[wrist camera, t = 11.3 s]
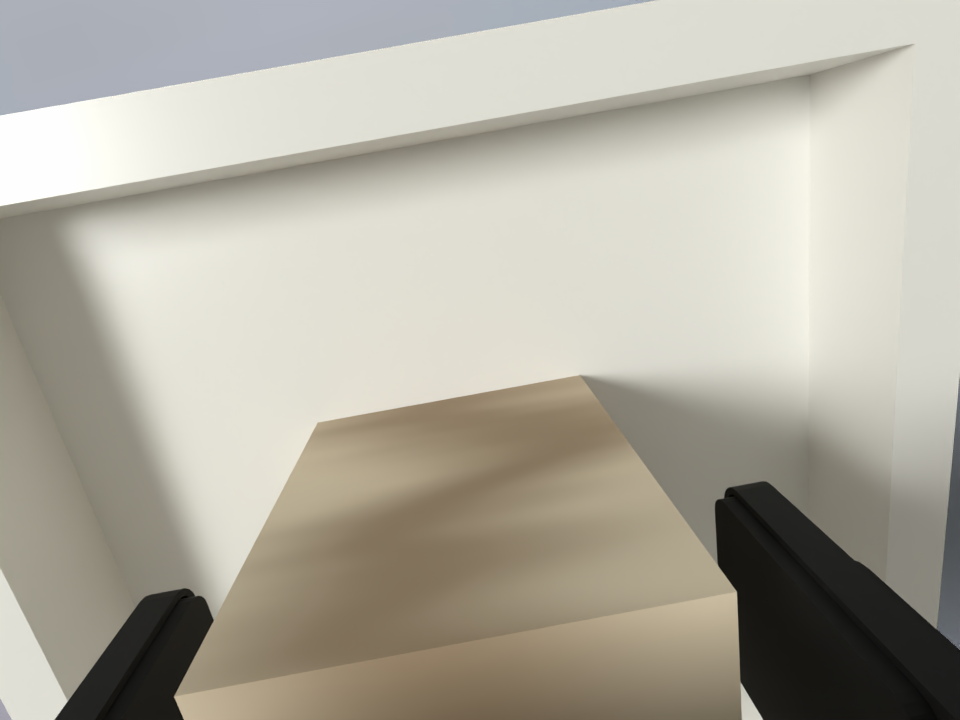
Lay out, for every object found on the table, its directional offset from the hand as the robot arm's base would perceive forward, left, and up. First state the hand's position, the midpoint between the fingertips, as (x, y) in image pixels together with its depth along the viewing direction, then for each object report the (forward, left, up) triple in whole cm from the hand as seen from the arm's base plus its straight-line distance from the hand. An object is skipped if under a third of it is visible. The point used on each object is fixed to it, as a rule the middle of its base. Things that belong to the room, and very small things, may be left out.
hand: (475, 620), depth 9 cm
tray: (0, 0, -4) cm, 4 cm away
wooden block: (0, 0, -3) cm, 3 cm away
